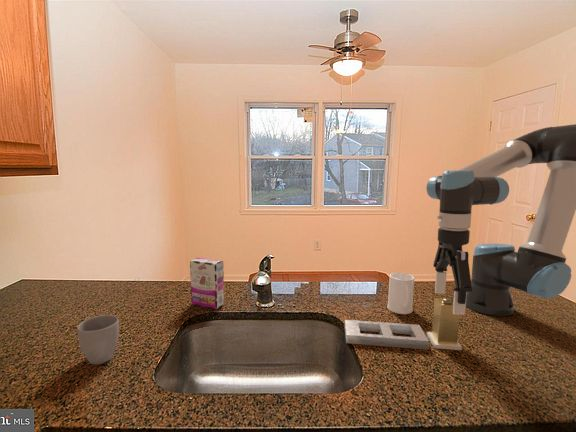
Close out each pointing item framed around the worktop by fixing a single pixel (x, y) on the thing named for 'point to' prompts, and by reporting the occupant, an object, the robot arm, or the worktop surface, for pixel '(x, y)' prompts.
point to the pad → (443, 346)
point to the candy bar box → (207, 283)
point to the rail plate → (385, 334)
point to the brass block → (445, 321)
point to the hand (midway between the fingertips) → (448, 302)
